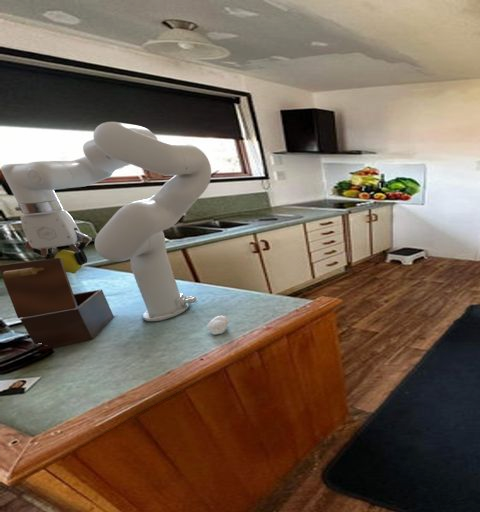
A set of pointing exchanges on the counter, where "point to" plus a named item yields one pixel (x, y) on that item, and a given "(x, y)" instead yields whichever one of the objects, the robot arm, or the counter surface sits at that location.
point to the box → (70, 321)
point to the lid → (38, 287)
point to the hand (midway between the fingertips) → (70, 265)
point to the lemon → (68, 261)
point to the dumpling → (218, 325)
